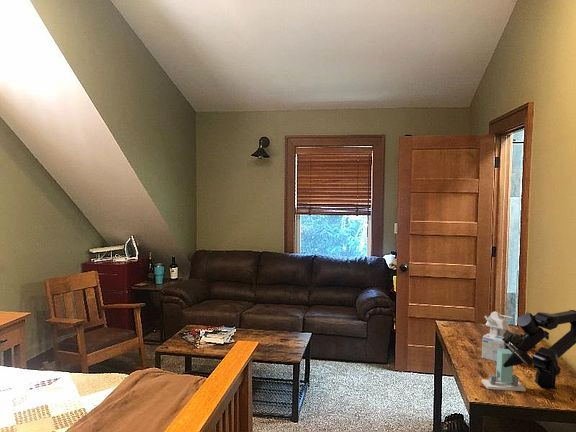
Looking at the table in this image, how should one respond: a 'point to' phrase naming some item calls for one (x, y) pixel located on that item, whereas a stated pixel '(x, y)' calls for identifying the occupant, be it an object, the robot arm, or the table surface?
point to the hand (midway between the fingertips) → (501, 363)
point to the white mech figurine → (497, 323)
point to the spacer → (502, 371)
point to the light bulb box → (491, 346)
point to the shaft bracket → (503, 384)
